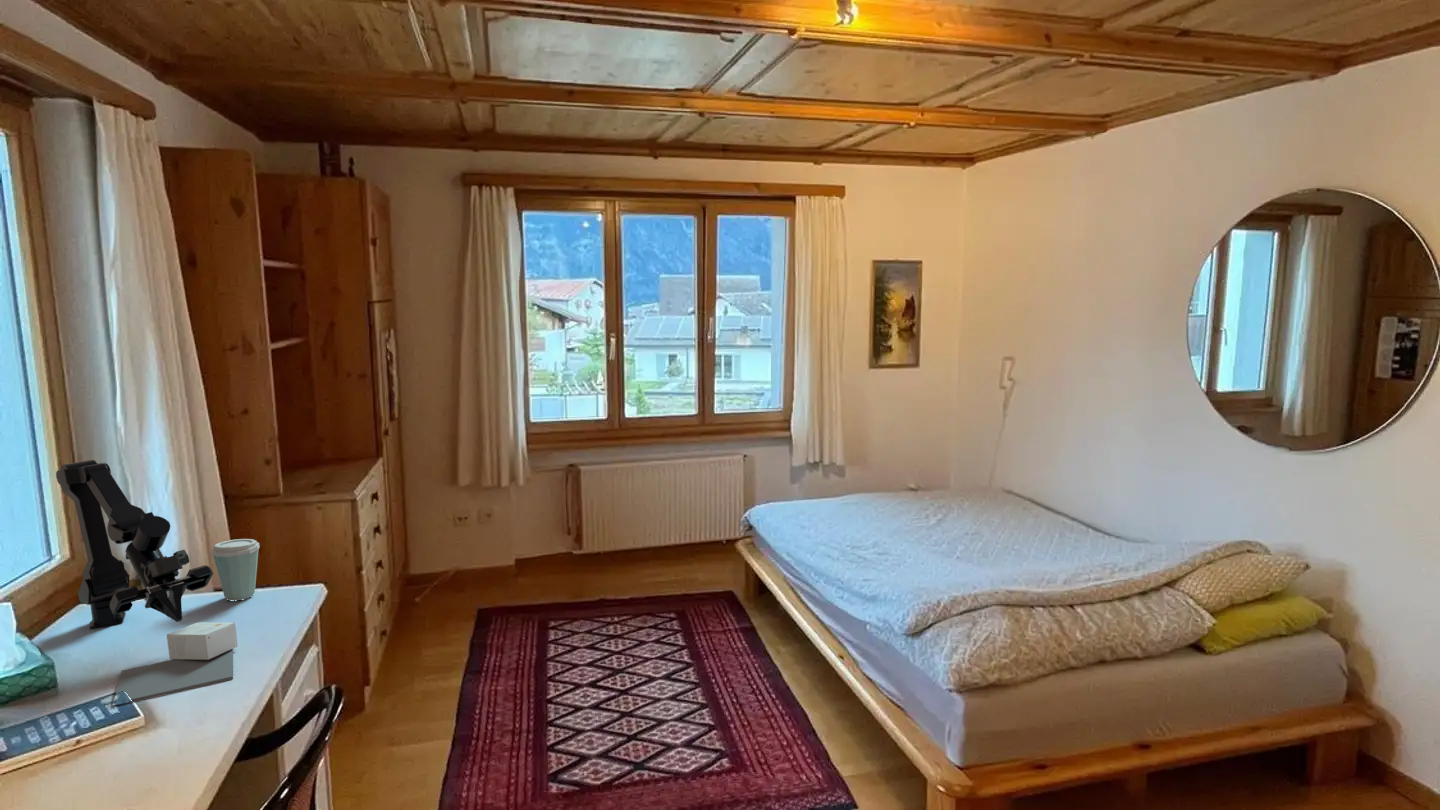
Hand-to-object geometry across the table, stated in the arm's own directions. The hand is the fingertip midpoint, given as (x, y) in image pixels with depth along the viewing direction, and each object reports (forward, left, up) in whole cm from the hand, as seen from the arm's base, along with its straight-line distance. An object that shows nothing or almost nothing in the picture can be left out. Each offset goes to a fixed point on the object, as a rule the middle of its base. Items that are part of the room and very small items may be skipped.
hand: (179, 620), depth 175 cm
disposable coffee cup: (-33, +11, -9) cm, 36 cm away
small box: (-3, 0, -6) cm, 6 cm away
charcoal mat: (+9, -1, -9) cm, 13 cm away
